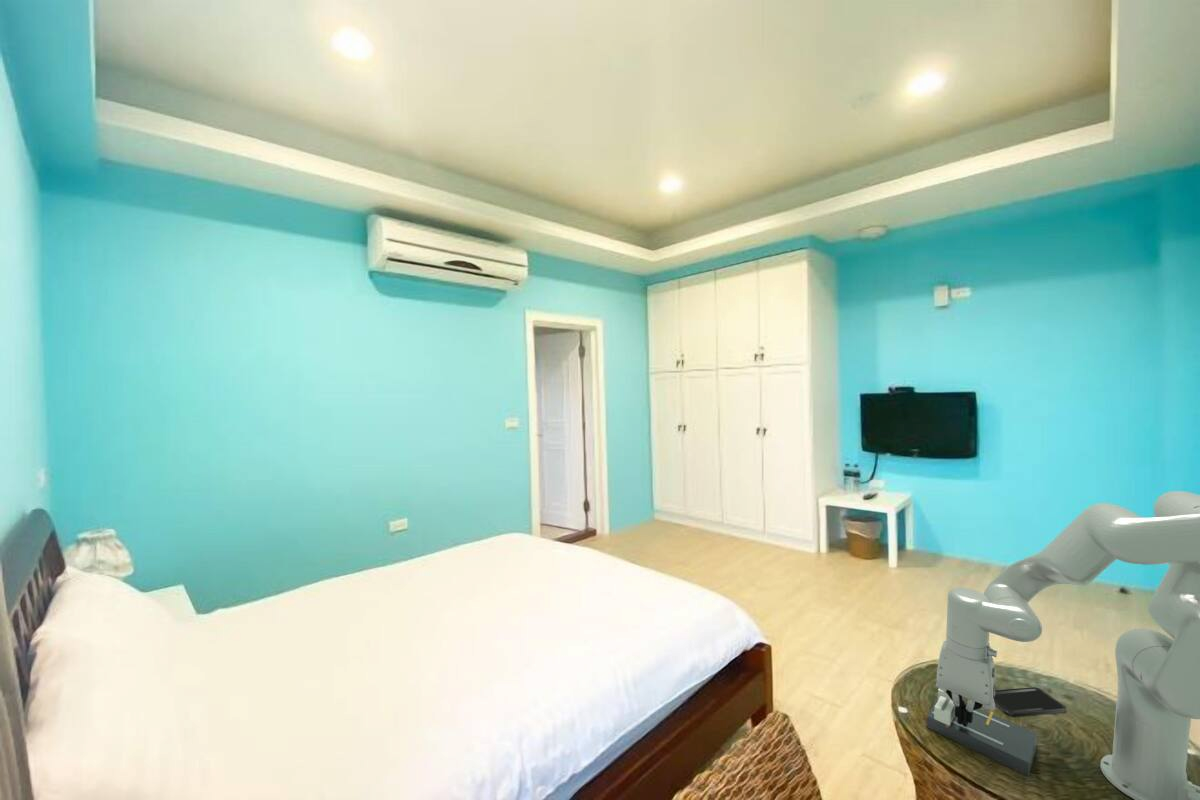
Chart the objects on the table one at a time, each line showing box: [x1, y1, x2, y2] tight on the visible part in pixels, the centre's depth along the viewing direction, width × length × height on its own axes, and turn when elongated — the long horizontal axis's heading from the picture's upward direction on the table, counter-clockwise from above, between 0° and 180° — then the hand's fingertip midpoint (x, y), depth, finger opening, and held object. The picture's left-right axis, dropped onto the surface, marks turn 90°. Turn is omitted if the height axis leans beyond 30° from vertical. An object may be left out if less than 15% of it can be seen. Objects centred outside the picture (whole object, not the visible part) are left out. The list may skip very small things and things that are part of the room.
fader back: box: [937, 688, 952, 700], centre depth 117 cm, size 3×5×3 cm, turn 132°
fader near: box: [934, 696, 955, 726], centre depth 112 cm, size 3×5×3 cm, turn 132°
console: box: [926, 697, 1038, 777], centre depth 110 cm, size 18×13×3 cm
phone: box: [993, 686, 1067, 718], centre depth 120 cm, size 8×1×15 cm
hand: (963, 721), depth 109 cm, fingers closed
